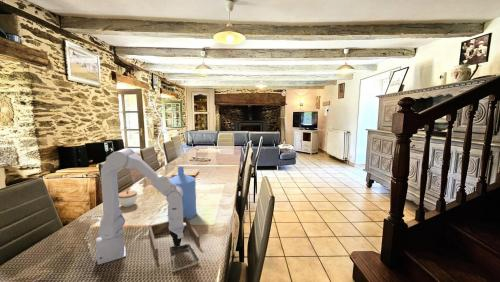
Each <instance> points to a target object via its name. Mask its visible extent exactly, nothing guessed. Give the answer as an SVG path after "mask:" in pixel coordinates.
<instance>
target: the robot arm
mask: <svg viewBox="0 0 500 282" xmlns="http://www.w3.org/2000/svg"><path fill="white" fill-rule="evenodd" d="M124 167H125V169H126V170H128V169H129V170H132V169H134V170H137V172H139V173H141V174H142V175H143V176H144V177H146V178H147V179H148V180H150V181H151V185H152V187H153V188H155V189H156V190H157V191H158V192H159V193H160V194H162V195H163V196H165V199H166V202H167V203H168V204H169V206H168V204H167V212H168V211H169V218H168V221H169V231H168V233H169V235H170V236H171V239H172V242H173V246H178V247H179V246H181V242H182V239H183V238H184V235H185V230H184V229H185V227H184V226H186V223H183V204H182V195H183V190H182V188H181V187H180V186H177V185H176V184H175V185H174V184H173V183H172V182H171V181H170V180H169V177H168V176H167V175H164V174H158V173H157V172H156V170H154V169H153V168H152V167H151V166H150V165H149V164H148V163H147V162H146V161H144V159H142V157H141V156H140V155H139V154H138V153H136V152H135V151H134V150H133V149H131V148H128V147H127V148H122V149H119V150H116V151H114V152H111V153H110V154H109V155H107V156H106V157H105V161H104V163H103V165H102V166H101V168H100V179H101V180H100V181H101V193H102V195H101V196H102V197H101V198H102V210H103V213H102V217H101V219H100V222H99V227H98V231H97V233H98V236H99V237H96V238H95V239H96V240H95V245H96V246H95V248H96V249H95V250H96V253H95V254H96V260H97V265H103V264H106V263H109V262H111V261H112V262H113V261H115V260H119V259H123V258H126V257H127V256H126V255H127V252H126V246H125V242H124V239H125V238H124V229H123V227H124V225H125V222H126V219H125V217H124V215H123V211H122V210H121V209H120V203H119V197H118V194H119V184H118V183H119V182H118V172H119V171H120V170H122V168H124Z"/></svg>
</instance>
